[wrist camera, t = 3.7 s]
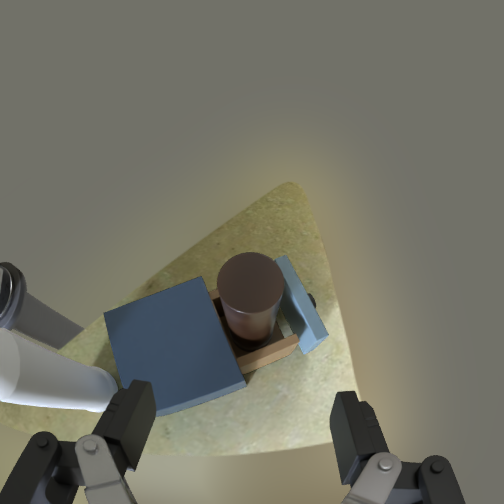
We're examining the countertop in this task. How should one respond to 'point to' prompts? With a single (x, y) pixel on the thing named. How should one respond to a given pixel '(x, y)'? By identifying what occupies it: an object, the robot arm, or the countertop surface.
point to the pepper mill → (250, 298)
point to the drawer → (297, 315)
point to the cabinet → (174, 347)
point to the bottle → (50, 377)
